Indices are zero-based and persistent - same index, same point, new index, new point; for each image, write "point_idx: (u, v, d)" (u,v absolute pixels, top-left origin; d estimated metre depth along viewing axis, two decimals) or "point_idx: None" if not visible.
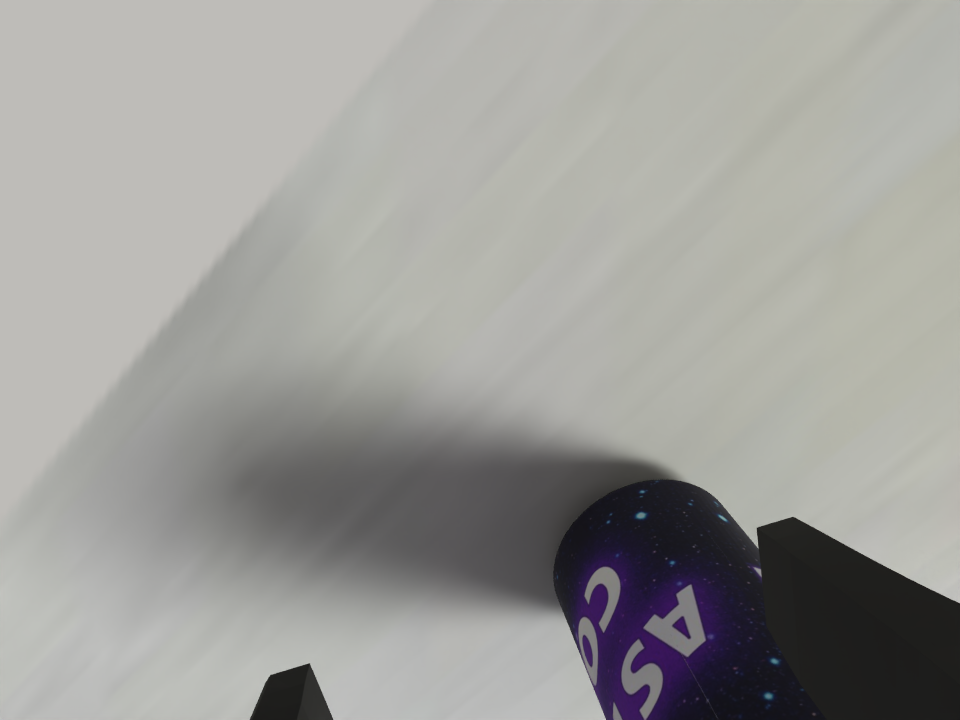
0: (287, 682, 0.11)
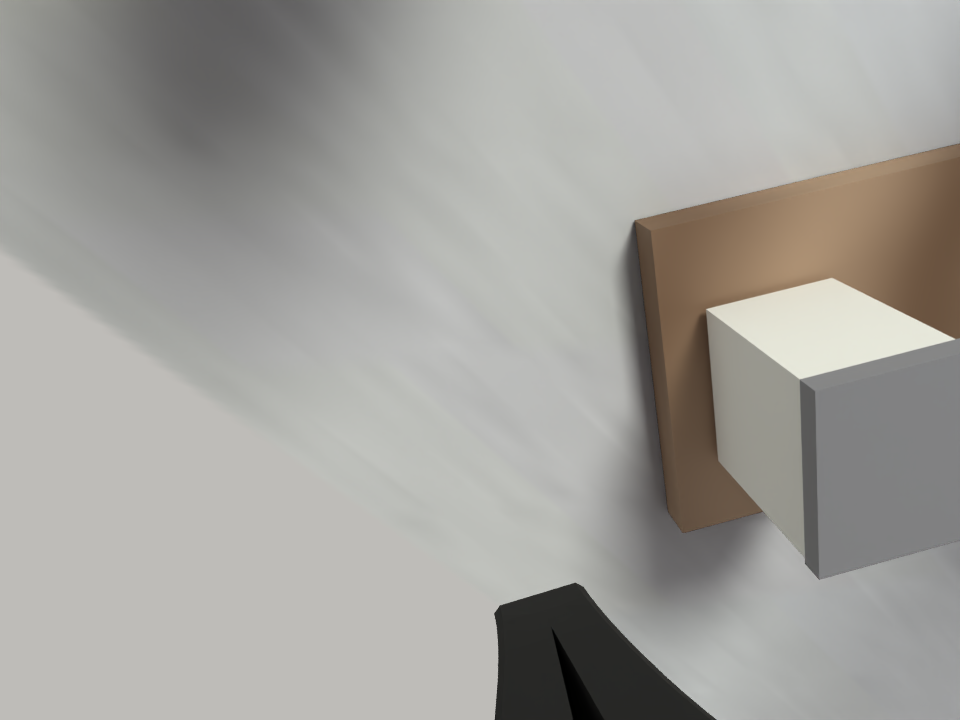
0: (523, 610, 0.12)
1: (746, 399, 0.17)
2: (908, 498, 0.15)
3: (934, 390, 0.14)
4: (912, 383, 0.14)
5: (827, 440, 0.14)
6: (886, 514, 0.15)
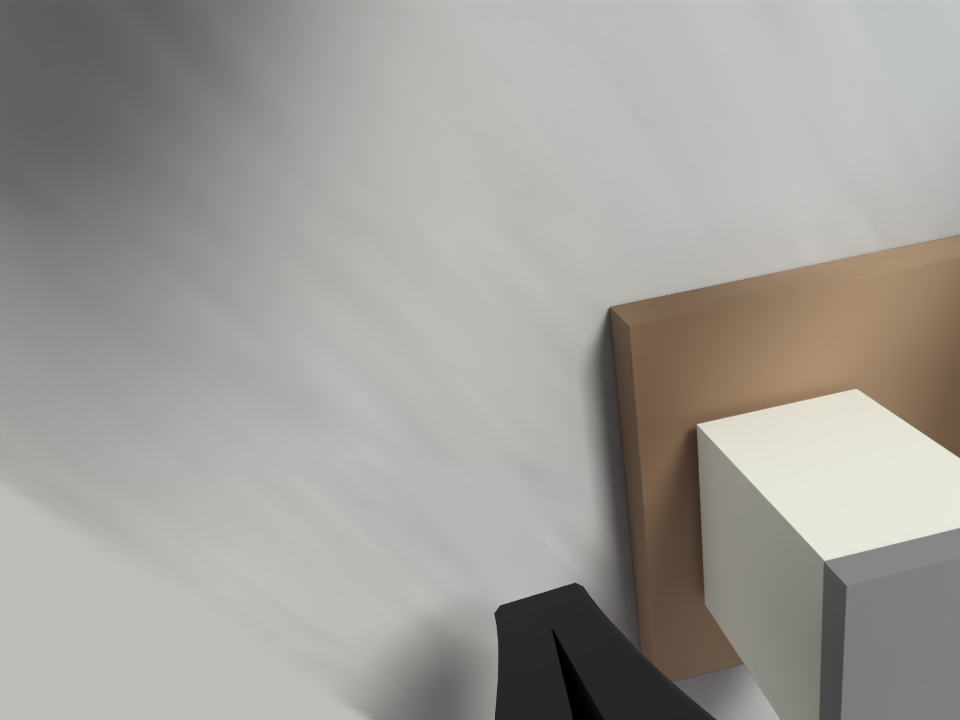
0: (524, 610, 0.11)
1: (745, 551, 0.13)
2: None
3: None
4: None
5: (859, 646, 0.10)
6: None
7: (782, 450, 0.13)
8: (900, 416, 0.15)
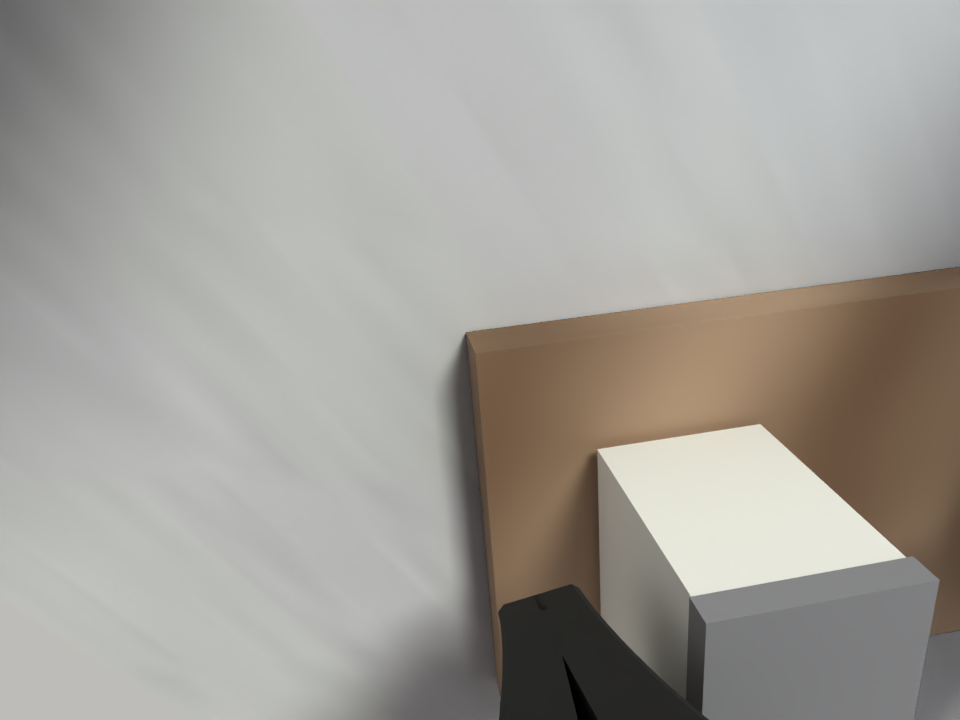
0: (527, 609, 0.12)
1: (632, 580, 0.13)
2: None
3: (869, 628, 0.10)
4: (841, 620, 0.10)
5: (719, 685, 0.10)
6: None
7: (675, 481, 0.13)
8: None
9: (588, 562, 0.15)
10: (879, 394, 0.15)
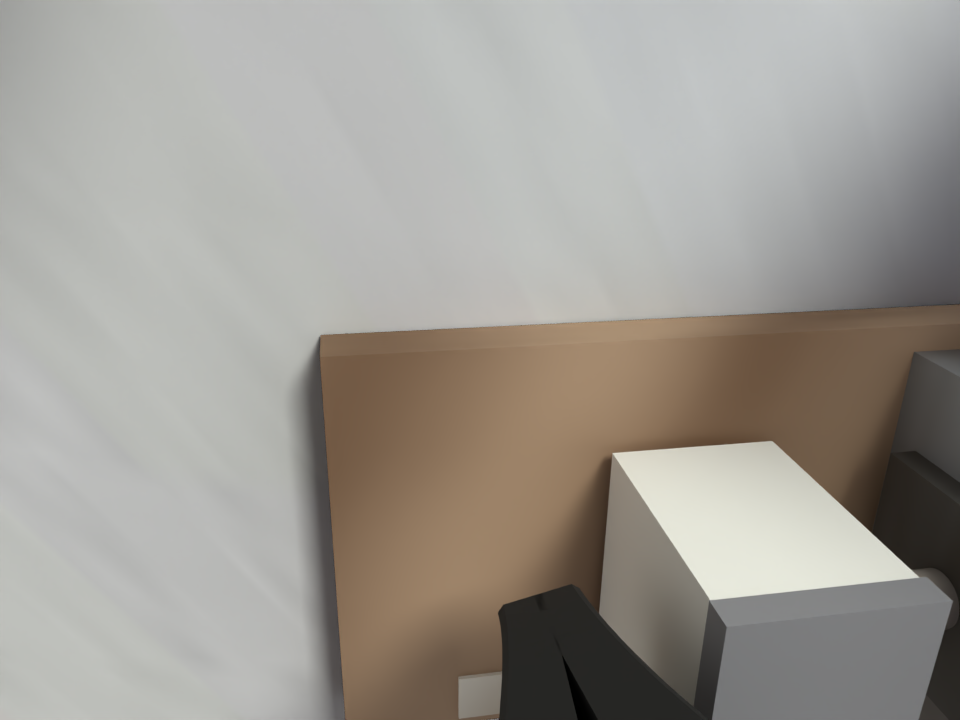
0: (527, 609, 0.12)
1: (640, 584, 0.13)
2: None
3: (881, 644, 0.10)
4: (855, 633, 0.10)
5: (731, 690, 0.10)
6: None
7: (690, 489, 0.13)
8: None
9: (436, 581, 0.14)
10: (741, 432, 0.14)
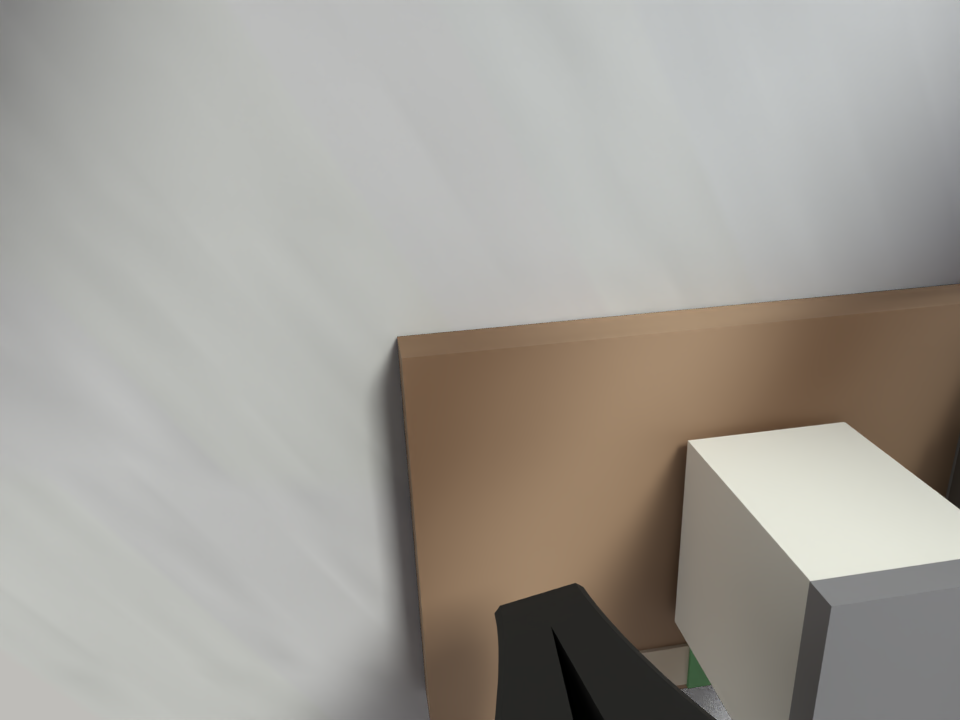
0: (523, 610, 0.12)
1: (725, 569, 0.13)
2: None
3: None
4: (956, 608, 0.10)
5: (835, 668, 0.10)
6: None
7: (771, 473, 0.13)
8: None
9: (516, 573, 0.15)
10: (813, 414, 0.14)
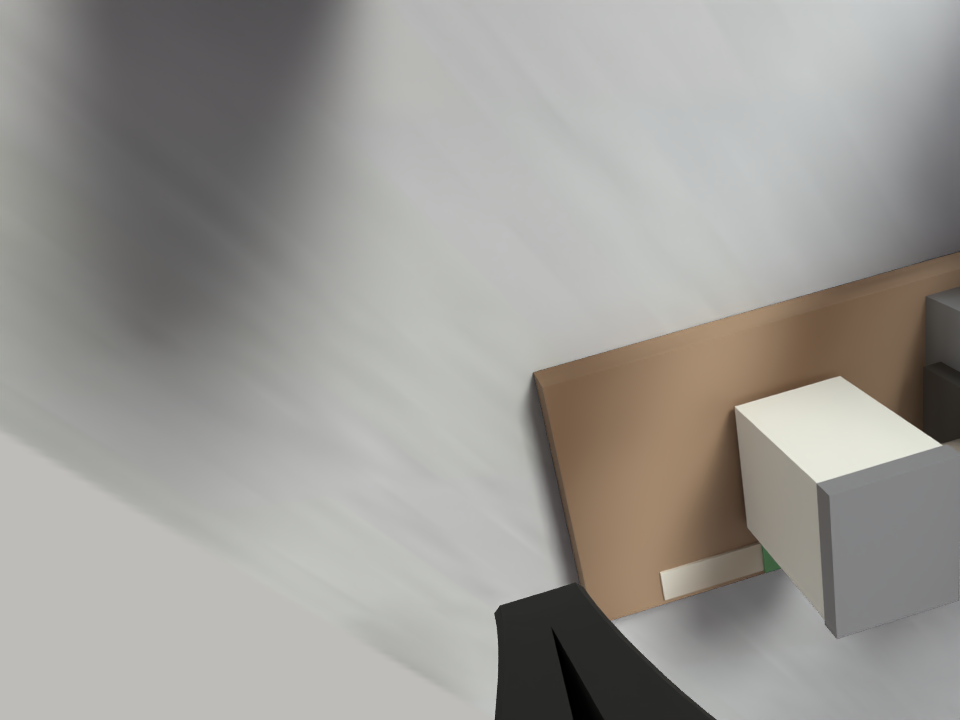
0: (523, 610, 0.12)
1: (771, 486, 0.20)
2: (907, 572, 0.18)
3: (925, 488, 0.17)
4: (907, 485, 0.17)
5: (840, 531, 0.17)
6: (890, 585, 0.18)
7: (791, 420, 0.20)
8: None
9: (635, 512, 0.22)
10: (817, 374, 0.21)
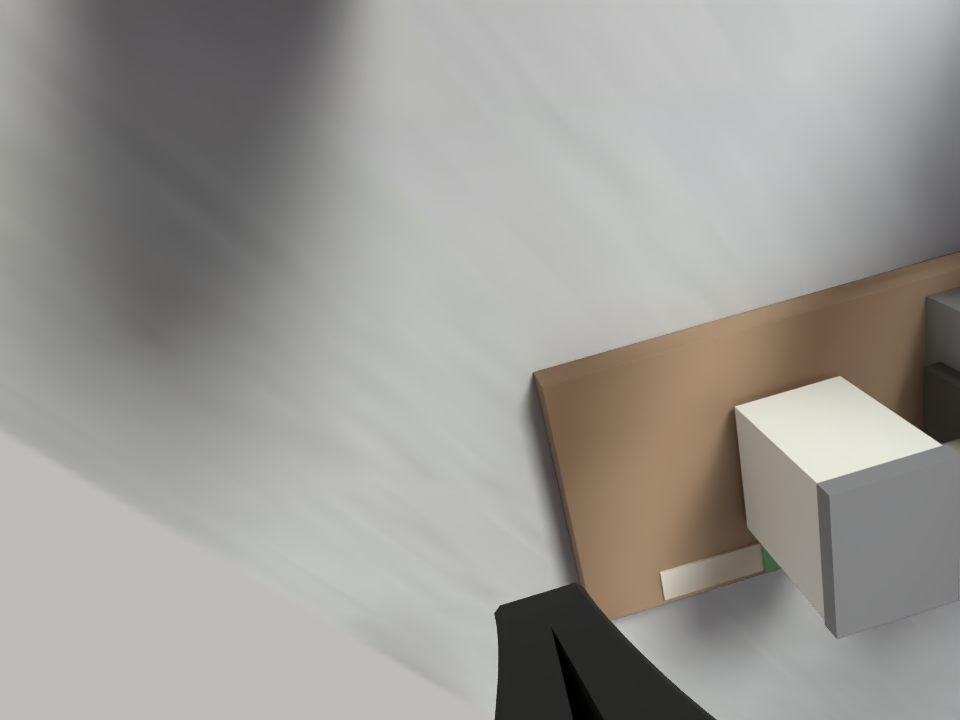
0: (523, 610, 0.12)
1: (771, 486, 0.20)
2: (907, 572, 0.18)
3: (925, 488, 0.17)
4: (907, 485, 0.17)
5: (840, 531, 0.17)
6: (890, 585, 0.18)
7: (791, 420, 0.20)
8: None
9: (635, 512, 0.22)
10: (817, 374, 0.21)
